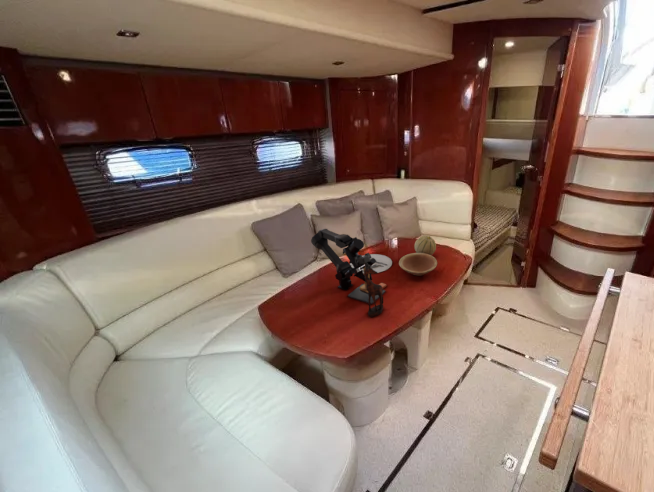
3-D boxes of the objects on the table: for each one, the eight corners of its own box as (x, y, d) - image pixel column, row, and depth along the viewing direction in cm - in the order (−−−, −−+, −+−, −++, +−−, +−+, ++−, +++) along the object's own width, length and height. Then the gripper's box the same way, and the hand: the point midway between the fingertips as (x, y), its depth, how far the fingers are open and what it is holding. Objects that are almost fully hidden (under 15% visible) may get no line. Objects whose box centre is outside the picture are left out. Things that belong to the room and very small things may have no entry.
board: (347, 296, 168) (347, 295, 167) (362, 285, 178) (362, 283, 178) (371, 304, 161) (371, 303, 160) (385, 291, 171) (385, 290, 171)
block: (377, 286, 176) (376, 285, 176) (381, 284, 179) (381, 282, 178) (381, 289, 174) (381, 287, 173) (386, 286, 176) (386, 284, 176)
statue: (372, 321, 148) (367, 267, 134) (362, 315, 152) (357, 262, 138) (388, 310, 156) (385, 258, 142) (378, 305, 160) (375, 254, 146)
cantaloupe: (413, 252, 217) (413, 232, 210) (433, 250, 218) (433, 231, 211) (416, 261, 204) (416, 240, 197) (437, 259, 205) (438, 239, 198)
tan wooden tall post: (360, 291, 165) (357, 267, 158) (364, 287, 168) (362, 264, 160) (371, 295, 161) (369, 272, 154) (376, 292, 164) (374, 268, 156)
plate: (400, 260, 206) (400, 258, 205) (375, 278, 185) (375, 276, 185) (367, 251, 219) (367, 250, 219) (341, 267, 199) (341, 265, 198)
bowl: (393, 277, 185) (393, 266, 181) (407, 261, 204) (407, 250, 201) (430, 284, 177) (430, 272, 173) (441, 266, 196) (441, 255, 193)
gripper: (347, 256, 148) (364, 283, 148) (373, 244, 161) (389, 268, 160) (337, 265, 156) (354, 290, 156) (363, 253, 169) (378, 276, 168)
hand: (369, 281), depth 160 cm, fingers closed on tan wooden tall post, 3 cm apart
